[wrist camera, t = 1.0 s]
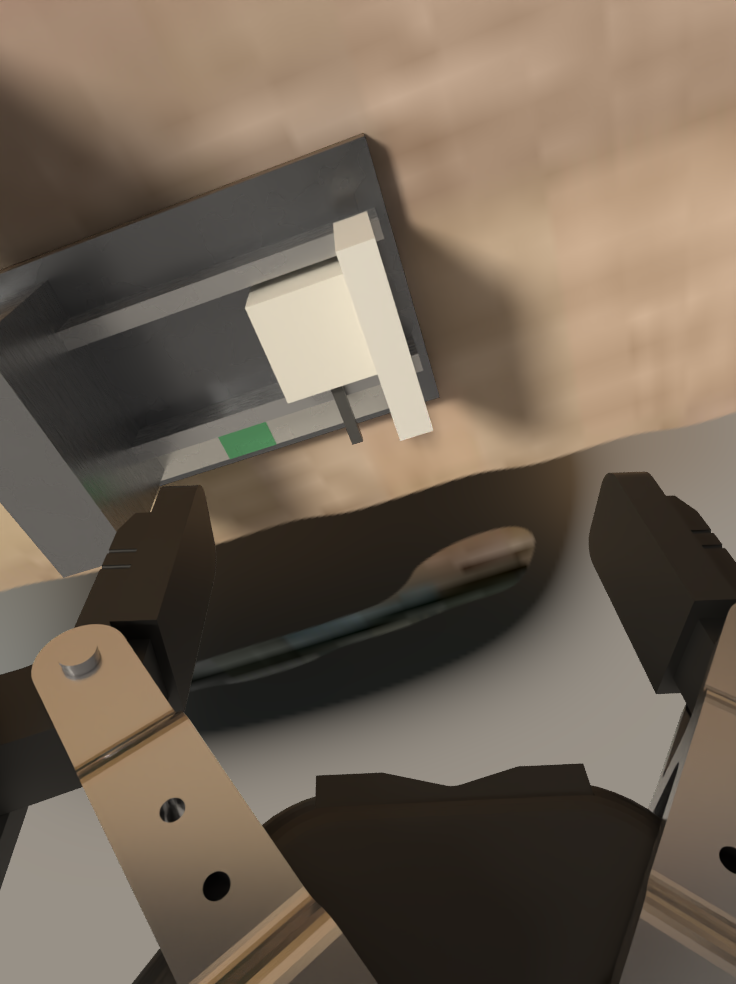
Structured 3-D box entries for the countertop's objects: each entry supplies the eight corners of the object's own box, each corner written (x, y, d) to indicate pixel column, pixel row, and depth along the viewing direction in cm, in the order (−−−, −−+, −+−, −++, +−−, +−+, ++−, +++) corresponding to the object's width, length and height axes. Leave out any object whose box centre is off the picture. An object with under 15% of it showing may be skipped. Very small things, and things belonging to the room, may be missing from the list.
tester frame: (363, 132, 30) (378, 162, 22) (436, 388, 38) (465, 473, 30) (-25, 279, 32) (-128, 350, 25) (119, 489, 40) (74, 590, 33)
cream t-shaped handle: (363, 200, 30) (375, 238, 24) (422, 395, 36) (443, 463, 30) (235, 247, 31) (216, 294, 25) (314, 430, 37) (314, 502, 31)
